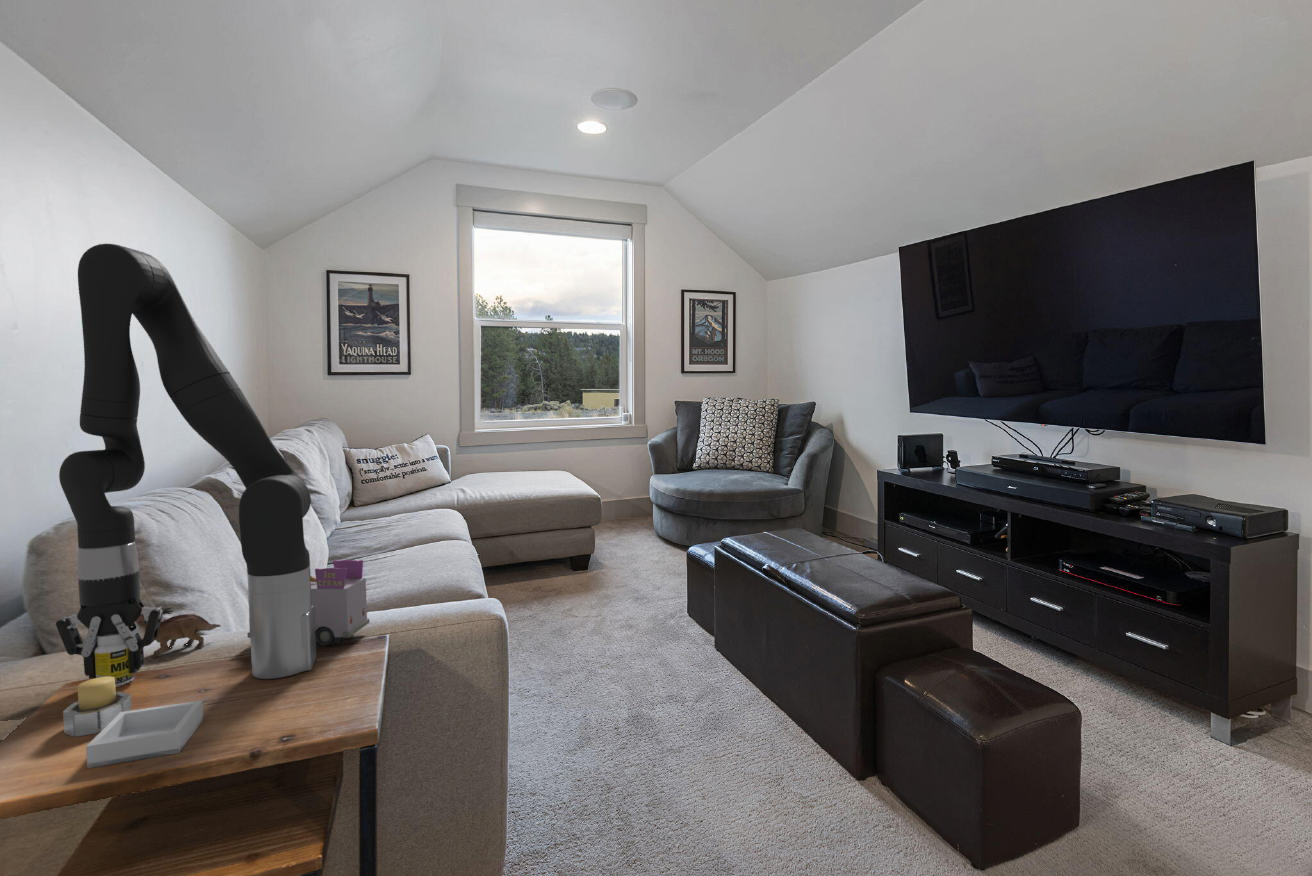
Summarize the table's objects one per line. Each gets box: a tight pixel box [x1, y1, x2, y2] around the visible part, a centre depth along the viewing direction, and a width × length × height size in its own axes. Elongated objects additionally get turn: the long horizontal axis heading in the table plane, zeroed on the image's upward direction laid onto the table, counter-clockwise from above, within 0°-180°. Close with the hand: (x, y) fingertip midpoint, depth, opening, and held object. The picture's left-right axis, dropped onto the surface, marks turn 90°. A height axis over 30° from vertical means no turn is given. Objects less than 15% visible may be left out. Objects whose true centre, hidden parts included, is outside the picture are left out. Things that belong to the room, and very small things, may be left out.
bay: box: [85, 700, 204, 769], centre depth 85 cm, size 10×10×3 cm
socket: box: [62, 691, 133, 738], centre depth 90 cm, size 7×7×3 cm
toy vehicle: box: [246, 559, 370, 646], centre depth 122 cm, size 9×20×15 cm, turn 88°
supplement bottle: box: [95, 634, 135, 688], centre depth 104 cm, size 5×5×8 cm
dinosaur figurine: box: [136, 604, 222, 660], centre depth 119 cm, size 14×6×9 cm, turn 127°
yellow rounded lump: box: [77, 676, 117, 710], centre depth 90 cm, size 4×4×3 cm
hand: (115, 673), depth 104 cm, fingers closed on supplement bottle, 4 cm apart
